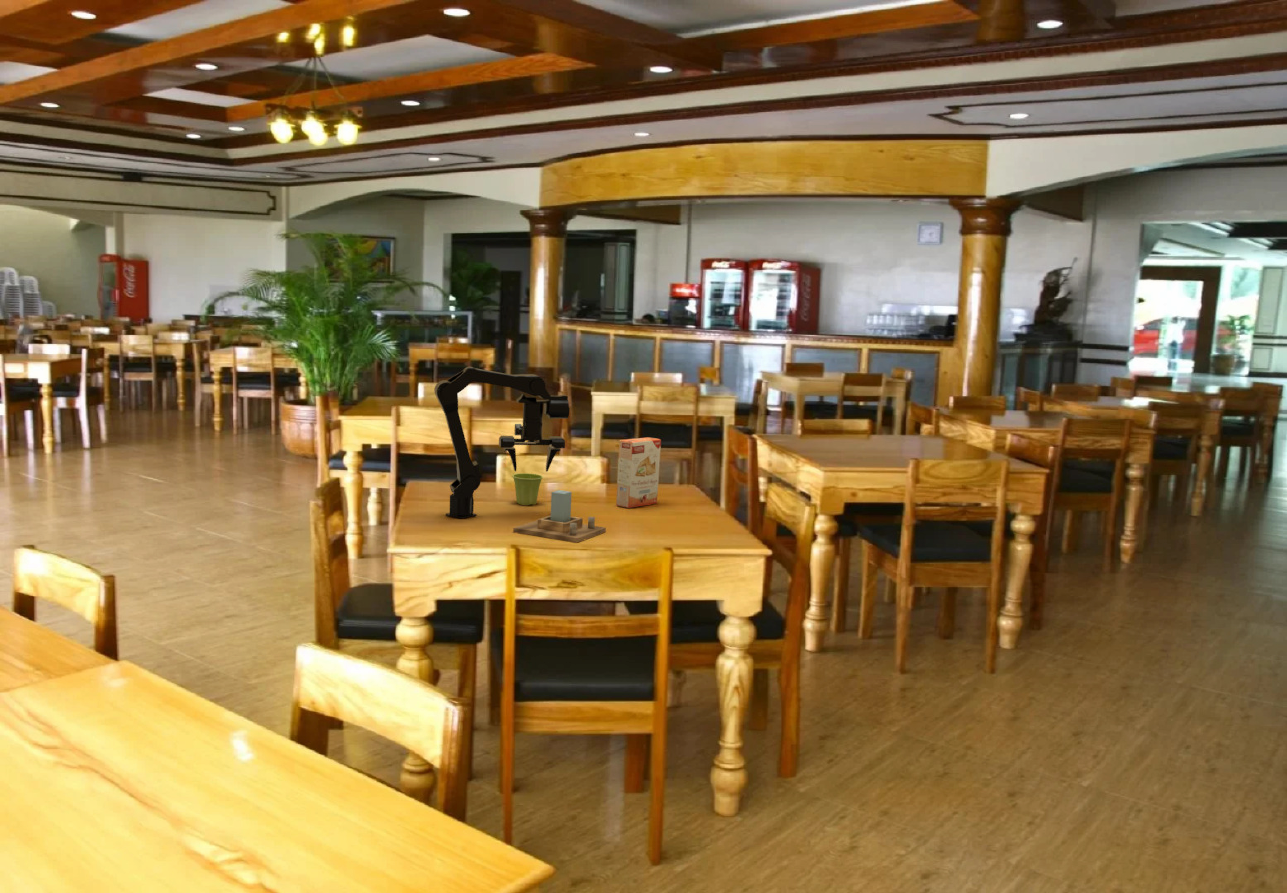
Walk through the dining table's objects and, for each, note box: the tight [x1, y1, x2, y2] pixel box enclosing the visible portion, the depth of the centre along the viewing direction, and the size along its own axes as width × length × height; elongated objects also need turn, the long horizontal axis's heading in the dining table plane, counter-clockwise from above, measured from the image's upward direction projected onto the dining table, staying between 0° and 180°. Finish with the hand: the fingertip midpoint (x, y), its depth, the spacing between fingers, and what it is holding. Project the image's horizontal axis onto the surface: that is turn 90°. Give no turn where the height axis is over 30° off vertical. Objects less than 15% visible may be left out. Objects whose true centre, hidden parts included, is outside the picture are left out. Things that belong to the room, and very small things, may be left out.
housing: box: [512, 514, 607, 543], centre depth 295 cm, size 20×16×4 cm
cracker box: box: [615, 436, 662, 509], centre depth 337 cm, size 14×6×21 cm, turn 140°
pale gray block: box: [550, 489, 573, 523], centre depth 295 cm, size 4×4×10 cm
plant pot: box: [512, 472, 544, 506], centre depth 332 cm, size 9×9×9 cm
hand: (531, 471), depth 314 cm, fingers open, 9 cm apart
